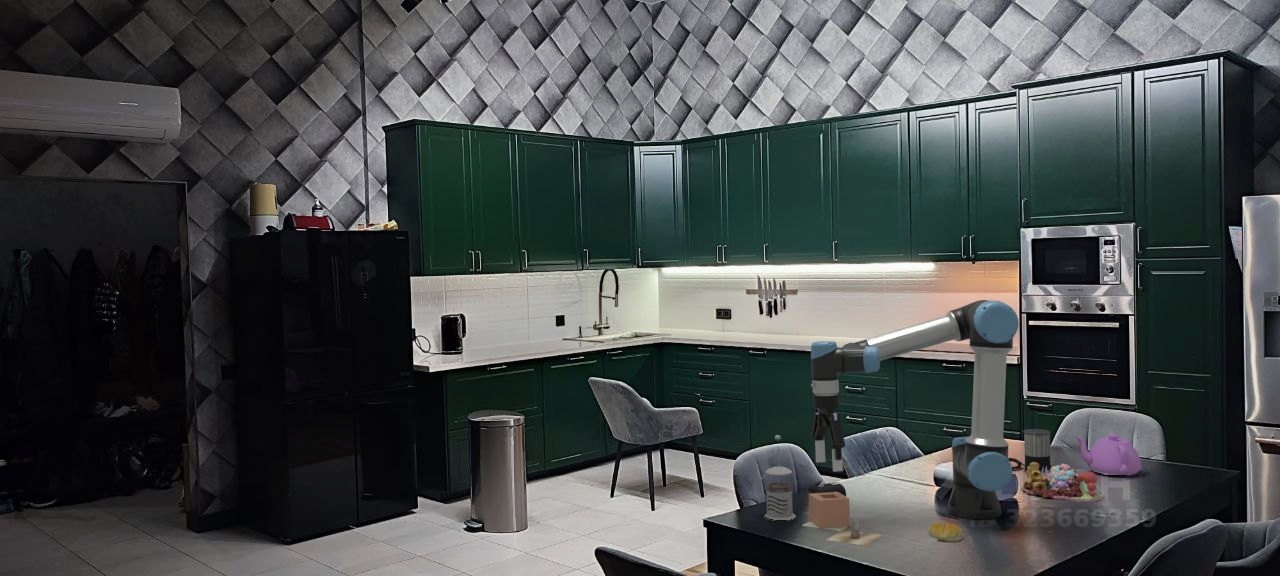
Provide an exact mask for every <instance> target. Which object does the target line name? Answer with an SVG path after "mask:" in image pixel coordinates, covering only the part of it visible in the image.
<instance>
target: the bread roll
mask: <svg viewBox="0 0 1280 576" xmlns="http://www.w3.org/2000/svg"><path fill="white" fill-rule="evenodd" d="M928 536H929V537H931V538H934V539H937V541H938V542H944V541H945V542H947V543H955V542H961V540H963V538H964V531H963V530H962V528H961V527H959V525H956V524H953V523H949V524H943V523H940V522H939V523H935V524H933V525H931V526H929V528H928Z"/></svg>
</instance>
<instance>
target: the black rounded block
mask: <svg viewBox="0 0 1280 576" xmlns="http://www.w3.org/2000/svg"><path fill="white" fill-rule="evenodd" d="M827 492H839V493H840V494H842V495H844V496H846V497H847V491H846V488H845V487H844V485H843V484H842V483H839V482H838V483H829V482H827V483H823V485H822V486H820V485H817V484H816V485H815V484H814V485H810V486H808V494H813V493H827Z"/></svg>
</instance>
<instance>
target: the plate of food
mask: <svg viewBox="0 0 1280 576" xmlns="http://www.w3.org/2000/svg"><path fill="white" fill-rule="evenodd" d="M1038 469H1039V464H1038V463H1036V462H1032V463H1030V466H1028V467H1027V471H1024V472H1025V474H1026V478H1027V479H1026V480H1025V482H1024V484H1023V487H1021V488H1020V489H1021V490H1022V491H1024V492H1026V494H1028V495H1032V496H1033V497H1034V496H1042V498H1043V499H1044V498H1045V499H1054V500H1055V499H1056V500H1067V501H1074V502H1096V501H1100V500H1103V499H1104V497H1105V495H1106V494H1105V493H1104V492H1103V491H1102V490H1101V488H1100V486H1099V485H1098V484H1097V482H1098V476H1097V475H1096V473H1095V472H1093V471H1092V472H1091V471H1087V472H1085V473H1084V472H1080V473H1078V472H1077V471H1076V470H1075V469H1073V468H1071V466H1070V465H1069V464H1065V463H1061V464H1060V465H1059V464H1057V465H1053V466H1051V469H1050V473H1049V470H1048V469H1047V466H1046V468H1045V473H1043V468H1042V473H1041V472H1040V471H1038Z"/></svg>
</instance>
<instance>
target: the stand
mask: <svg viewBox="0 0 1280 576" xmlns="http://www.w3.org/2000/svg"><path fill="white" fill-rule="evenodd" d="M849 527H850V530H849V529H843V530H842V531H837V532H836V533H835V534H833V535H832V536H830V537H828V538H827V539H825V540H826V541H830V542H837V543H842V544H843V543H844V544H849V545H857V546H863V547H869V546H871V545H872V544H874V543H875V542H876V541H878V540H879V539H881V538H882V537H884V535H885V534H884V535H883V534H877V533H871V532H870V533H869V532H864V531H860V518H855V517H854V518H850V526H849Z"/></svg>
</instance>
